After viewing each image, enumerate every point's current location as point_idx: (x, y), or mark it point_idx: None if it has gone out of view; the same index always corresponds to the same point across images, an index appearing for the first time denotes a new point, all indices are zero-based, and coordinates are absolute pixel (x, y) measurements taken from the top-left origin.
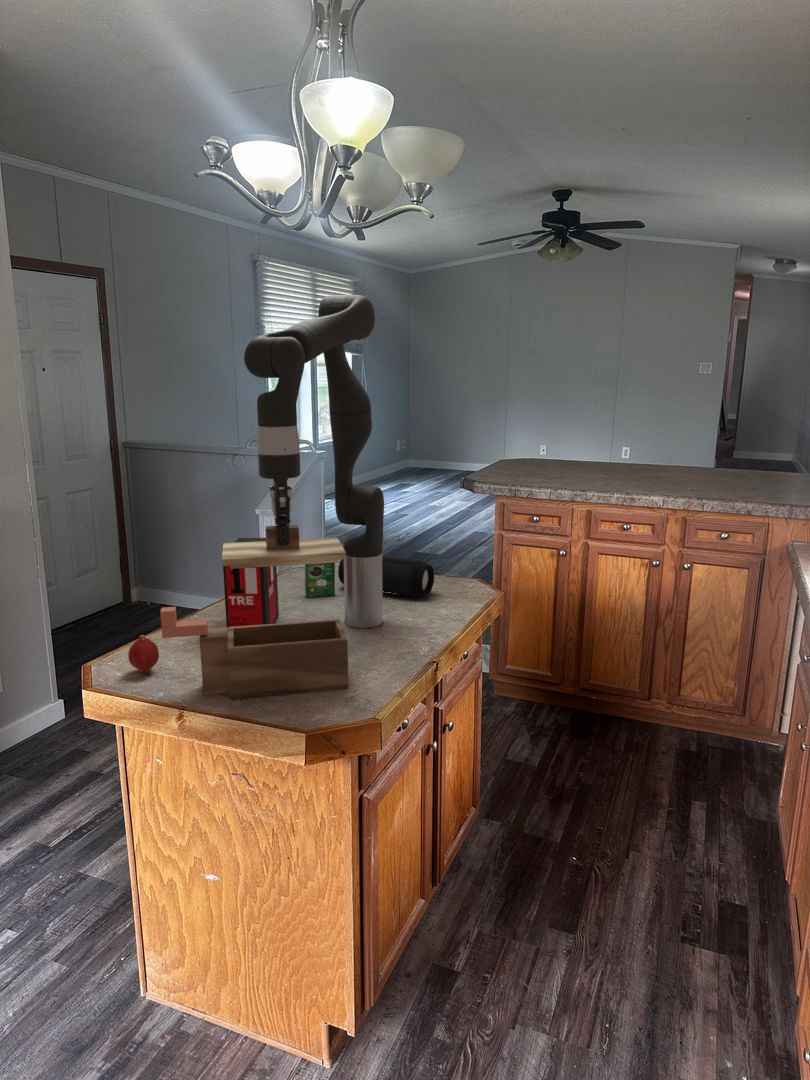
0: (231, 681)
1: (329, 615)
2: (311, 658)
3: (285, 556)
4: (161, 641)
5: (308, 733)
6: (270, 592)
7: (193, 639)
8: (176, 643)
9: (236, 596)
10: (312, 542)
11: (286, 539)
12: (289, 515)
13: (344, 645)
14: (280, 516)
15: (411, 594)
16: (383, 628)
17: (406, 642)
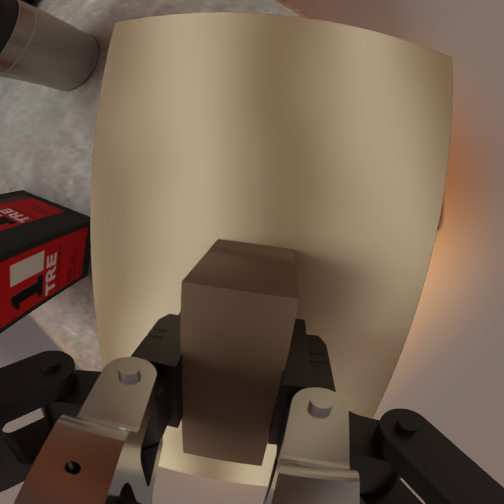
0: None
1: (35, 113)
2: None
3: (405, 336)
4: (84, 351)
5: (439, 225)
6: (19, 216)
7: (80, 316)
8: (91, 337)
9: (45, 284)
10: (174, 150)
11: (326, 352)
12: (470, 461)
13: None
14: (148, 432)
15: (29, 3)
16: (107, 34)
17: (176, 6)
